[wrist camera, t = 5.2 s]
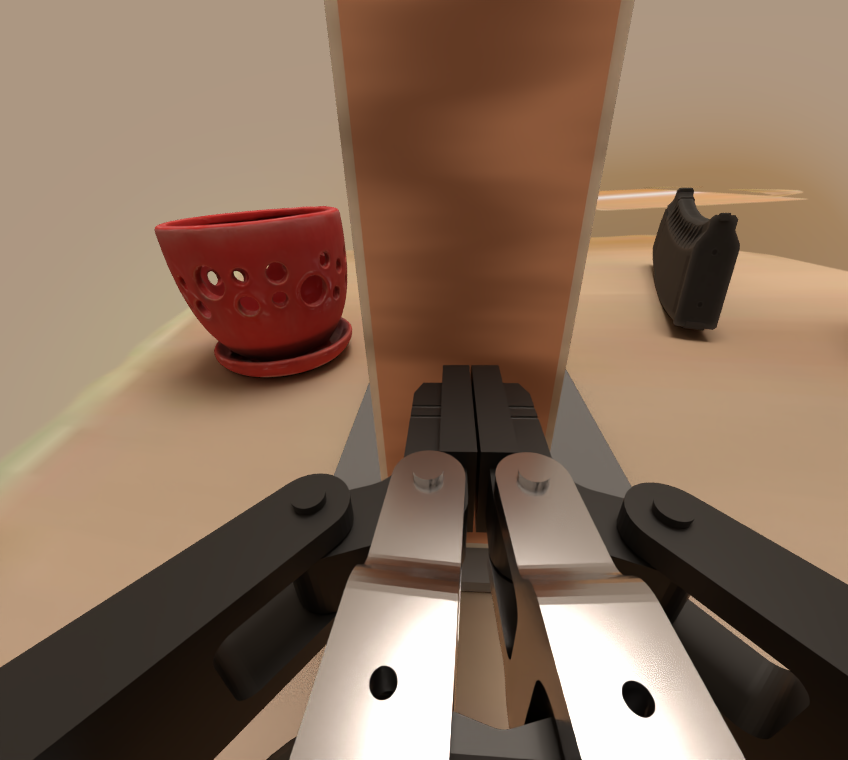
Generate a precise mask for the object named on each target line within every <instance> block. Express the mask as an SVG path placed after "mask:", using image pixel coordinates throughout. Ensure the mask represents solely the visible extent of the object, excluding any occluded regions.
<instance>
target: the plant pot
mask: <svg viewBox="0 0 848 760" xmlns="http://www.w3.org/2000/svg"><path fill="white" fill-rule="evenodd" d="M155 234H156V236H157V239H158V242H159V244H160V247H161V250H162V252H163V255H164V257H165V260H166V262H167V265H168V267H169V269H170V272H171V274H172V276H173V278H174V280H175V282H176V284H177V286H178V288H179V290H180V292H181V293H182V295H183V297H184V299H185V301H186V302H187V304H188V305H189V307H190V309H191V310H192V312H193V313H194V315H195V316H196V317H197V319H198V320H199V321H200V323H201V324H202V325H203V326H204V327H205V328H206V329H207V331H208V332H209V333H210V334H211V335H212V336H214V337H215V338H216V339H217V340H218V341H219V342H218V343H217V344H216V346H215V350H214V352H215V356H216V359H217V360H218V362H219V363H220V364H221V365H222V366H224V367H225V368H227V369H229V370H231V371H233V372H236V373H239V374H242V375H247V376H254V377H278V376H286V375H292V374H297V373H301V372H305V371H308V370H311V369H314V368H317V367H319V366H321V365H323V364H325V363H327V362H329V361H331V360H332V359H334V358H335V357H337V356H338V355H339V354H340V353H341V352H342V351H343V350H344V349H345V348H346V346H347V345H348V343H349V341H350V339H351V335H352V327H351V324H350V323H349V322H348V321H347V320H345V319H344V318H341V316H342V313H343V309H344V305H345V300H346V292H347V261H346V251H345V242H344V234H343V228H342V222H341V217H340V212H339V210H338V209H336V208H334V207H326V206H319V207H298V208H282V209H268V210H257V211H245V212H235V213H225V214H216V215H208V216H201V217H193V218H186V219H180V220H175V221H170V222H166V223H163V224H159V225H158V226H156V227H155ZM268 265H269V266H268ZM267 266H268V268H267ZM266 268H267V269H266ZM210 271H213V272H214V273H215V274H216V276H217V278H218V283H217V284H216V285H213V284H212V283H210V281H209V280H208V276H207V274H208V272H210ZM234 271H238V272H240V273H241V274H242V275H243V277H244V282H243V281H240V280H238V279H237V278H236V277H235V276H234Z"/></svg>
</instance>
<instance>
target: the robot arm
mask: <svg viewBox="0 0 848 760" xmlns="http://www.w3.org/2000/svg"><path fill="white" fill-rule="evenodd" d="M474 512H475V526H476V532H482V533H487V539H488V559H487V569H488V575H489V581H490V587H491V593H492V599H493V605H494V611H495V616H496V622H497V628H498V634H499V640H500V646H501V652H502V657H503V664H504V672H505V692H506V706H507V715H508V723H509V729H507V730H502V729H496V728H493V727H491V726H488V725H486V724H483V723H481V722H478V721H476V720H473V719H471V718H469V717H466V716H464V715H461V714H459V713H456V712H455V701H456V678H457V658H458V638H459V619H460V600H461V580H462V564H463V562H464V560H465V556H466V537H467V532H473V521H474ZM690 595H691V596H692V597H694V598H695V599H696V600H698V601H699V602H700V603H702V604H703V605H704V606H706V607H707V608H708V609H710V610H711V611H712V612H714V613H715V614H716V615H718V616H719V617H720V618H721V619H723V620H724V621H725V622H727V623H728V624H729V625H731V626H732V627H733V628H735V629H736V630H737V631H739V632H740V633H741V634H743V635H744V636H745V637H747V638H748V639H749V640H751V641H752V642H753V643H755V644H756V645H757V646H759V647H760V648H761V649H763V650H764V651H765V652H766V653H768V654H769V655H770V656H772V657H773V658H774V659H776V660H777V661H778V662H780V663H781V664H782V665H784V666H785V667H786V668H787V669H789V670H790V671H789V670H786V669H783V668H781V667H779V666H777V665H775V664H773V663H771V662H770V661H768V660H767V659H766V658H764V657H763V656H762V655H760V654H759V653H758V652H756V651H755V650H754V649H753V648H751V647H750V646H749V645H747V644H746V643H745V642H743V641H742V640H741V639H739V638H738V637H737V636H736V635H734V634H733V633H732V632H730V631H729V630H728V629H726V628H725V627H724V626H723V625H721V624H720V623H719V622H717V621H716V620H715V619H713V618H712V617H711V616H709V615H708V614H707V613H706V612H704V611H703V610H702V609H700V608H699V607H698V606H696V605H695V604H694V603H693V602H691V601H690V600H689V599H688V598H689V597H690ZM326 644H327V645H326ZM325 645H326V648H325V651H324V654H323V657H322V661H321V664H320V667H319V670H318V673H317V676H316V679H315V682H314V685H313V688H312V691H311V694H310V697H309V701H308V704H307V707H306V710H305V713H304V716H303V719H302V722H301V725H300V728H299V731H298V734H297V737H295V738H293V739H292V740H290V741H289V742H288V743H286V744H285V745H284V746H282V747H281V748H280V749H279V750H277V751H276V752H275V753H273V754H272V755H271V756H270V757H269V758H268V759H267V760H848V585H847V584H846V583H844V582H842V581H840V580H839V579H837V578H835V577H834V576H832V575H830V574H828V573H827V572H825V571H823V570H821V569H820V568H818V567H816V566H814V565H813V564H811V563H809V562H807V561H806V560H804V559H802V558H800V557H799V556H797V555H795V554H793V553H792V552H790V551H788V550H787V549H785V548H783V547H781V546H780V545H778V544H776V543H774V542H773V541H771V540H769V539H767V538H766V537H764V536H762V535H760V534H759V533H757V532H755V531H753V530H752V529H750V528H748V527H746V526H745V525H743V524H741V523H740V522H738V521H736V520H734V519H733V518H731V517H729V516H727V515H726V514H724V513H722V512H720V511H719V510H717V509H715V508H713V507H712V506H710V505H708V504H706V503H705V502H703V501H701V500H699V499H698V498H696V497H694V496H693V495H691V494H689V493H687V492H685V491H683V490H680V489H678V488H675V487H672V486H669V485H665V484H660V483H641V484H638V485H635V486H633V487H631V488H630V489H629V490H628V491H627V492H626V494H625V497H624V498H621V497H617V496H613V495H609V494H606V493H602V492H598V491H594V490H591V489H588V488H585V487H583V486H581V485H579V484H577V483H575V482H574V481H573V479H572V477H571V475H570V474H569V472H568V471H567V470H566V469H565V467H563V466H562V465H561V464H560V463H558V462H557V461H555V460H554V459H552V456H551V453H550V450H549V448H548V445H547V442H546V439H545V436H544V433H543V430H542V427H541V424H540V422H539V419H538V416H537V413H536V410H535V408H534V404H533V401H532V398H531V395H530V393H529V392H528V391H526V390H525V389H524V388H523V387H522V386H521V385H520V384H519V383H503V382H502V377H501V373H500V369H499V366H498V365H471V373H470V367H469V365H443V373H442V383H423V384H422V385H421V386H420V387H419V388H418V389H417V390H416V391H415V392H414V396H413V403H412V409H411V418H410V421H409V428H408V434H407V440H406V447H405V453H404V458H403V459H401V460H400V461H399V462H398V463H397V465H396V466H395V468H394V470H393V472H392V475H391V476H389V477H388V478H386V479H385V480H383V481H380V482H378V483H375V484H372V485H368V486H364V487H360V488H355V489H351V490H349V489H348V486H347V485H346V483H345V482H344V481H343V480H341V479H340V478H338V477H336V476H333V475H329V474H312V475H307V476H304V477H301V478H298V479H296V480H294V481H292V482H290V483H289V484H287V485H285V486H284V487H282V488H281V489H279V490H278V491H276V492H275V493H273V494H271V495H270V496H268V497H267V498H265V499H264V500H262V501H260V502H259V503H257V504H256V505H254V506H253V507H251V508H249V509H248V510H246V511H245V512H243V513H242V514H240V515H238V516H237V517H235V518H234V519H232V520H231V521H229V522H227V523H226V524H224V525H223V526H221V527H220V528H218V529H217V530H215V531H213V532H212V533H210V534H209V535H207V536H206V537H204V538H202V539H201V540H199V541H198V542H196V543H195V544H193V545H191V546H190V547H188V548H187V549H185V550H184V551H182V552H180V553H179V554H177V555H176V556H174V557H173V558H171V559H169V560H168V561H166V562H165V563H163V564H162V565H160V566H159V567H157V568H155V569H154V570H152V571H151V572H149V573H148V574H146V575H144V576H143V577H141V578H140V579H138V580H137V581H135V582H133V583H132V584H130V585H129V586H127V587H126V588H124V589H122V590H121V591H119V592H118V593H116V594H115V595H113V596H111V597H110V598H108V599H107V600H105V601H104V602H102V603H101V604H99V605H97V606H96V607H94V608H93V609H91V610H90V611H88V612H86V613H85V614H83V615H82V616H80V617H79V618H77V619H75V620H74V621H72V622H71V623H69V624H68V625H66V626H64V627H63V628H61V629H60V630H58V631H57V632H55V633H54V634H52V635H50V636H49V637H47V638H46V639H44V640H43V641H41V642H39V643H38V644H36V645H35V646H33V647H32V648H30V649H28V650H27V651H25V652H24V653H22V654H21V655H19V656H17V657H16V658H14V659H13V660H11V661H10V662H8V663H6V664H5V665H3V666H2V667H0V760H213V759H214V758H215V757H216V756H217V755H218V754H219V753H220V752H221V751H222V750H223V749H224V748H225V747H226V746H227V745H228V744H229V743H230V742H231V741H232V740H233V739H234V738H235V737H236V736H237V735H238V734H239V733H240V732H241V731H242V730H243V729H244V728H245V727H246V726H247V725H248V724H249V723H250V722H251V721H252V720H253V719H254V718H255V716H256V715H257V714H258V713H259V712H260V711H261V710H262V709H263V708H264V707H265V706H266V705H267V704H268V703H269V702H270V701H271V700H272V699H273V698H274V697H275V696H276V695H277V694H278V693H279V692H280V691H281V690H282V689H283V688H284V687H285V686H286V685H287V684H288V683H289V682H290V681H291V680H292V679H293V678H294V677H295V676H296V675H297V674H298V673H299V672H300V671H301V670H302V669H303V667H304V666H305V665H306V664H307V663H308V662H309V661H310V660H311V659H312V658H313V657H314V656H315V655H316V654H317V653H318V652H319V651H320V650H321V649H322V648H323V647H324V646H325Z"/></svg>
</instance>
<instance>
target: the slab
mask: <svg viewBox="0 0 848 760" xmlns="http://www.w3.org/2000/svg"><path fill="white" fill-rule="evenodd" d="M634 1H635V0H324V5H325V13H326V21H327V30H328V38H329V47H330V55H331V63H332V71H333V79H334V88H335V97H336V105H337V114H338V122H339V130H340V138H341V147H342V156H343V163H344V172H345V181H346V188H347V198H348V206H349V213H350V223H351V231H352V240H353V248H354V256H355V265H356V273H357V282H358V290H359V298H360V307H361V315H362V324H363V332H364V340H365V349H366V357H367V366H368V374H369V382H370V391H371V399H372V408H373V416H374V424H375V433H376V441H377V449H378V458H379V466H380V475H381V481H383V480H385V479H386V478H388V477H389V476H391V475H392V472H393V470H394V468H395V466H396V465H397V463H398V462H399V461H400V460H401V459H403V458H404V453H405V447H406V440H407V434H408V428H409V421H410V418H411V409H412V403H413V396H414V392H415V391H416V390H417V389H418V388H419V387H420V386H421V385H422V384H423V383H442V373H443V365H469V367H470V373H471V365H498V366H499V369H500V373H501V377H502V382H503V383H519V384H520V385H521V386H522V387H523V388H524V389H525V390H526V391H528V392H529V393H530V395H531V398H532V401H533V404H534V408H535V410H536V413H537V416H538V419H539V422H540V424H541V427H542V430H543V433H544V436H545V439H546V442H547V445H548V448H549V450H551V445H552V439H553V434H554V429H555V423H556V418H557V412H558V407H559V402H560V396H561V391H562V386H563V380H564V375H565V370H566V364H567V359H568V354H569V348H570V343H571V338H572V332H573V327H574V322H575V316H576V311H577V306H578V300H579V295H580V290H581V284H582V279H583V274H584V268H585V263H586V258H587V252H588V247H589V242H590V236H591V231H592V226H593V220H594V215H595V210H596V204H597V199H598V194H599V188H600V183H601V177H602V172H603V167H604V161H605V156H606V150H607V145H608V140H609V135H610V129H611V124H612V119H613V113H614V108H615V103H616V97H617V92H618V87H619V81H620V76H621V71H622V65H623V60H624V55H625V49H626V44H627V39H628V33H629V28H630V22H631V17H632V12H633V6H634ZM466 547H470V548H488V539H487V533H482V532H476V526H475V512H474V521H473V532H467V537H466Z"/></svg>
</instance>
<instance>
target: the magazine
mask: <svg viewBox="0 0 848 760" xmlns="http://www.w3.org/2000/svg"><path fill="white" fill-rule="evenodd" d="M693 193H694V190H693V188H679V189H678V190H677V193H676V196H675V198H674V200H673V201H672V202H671V203H670V204H669V205H668V208H667V209H666V210H665V212H664V215H663V218H662V220H661V223H660V226H659V229H658V232H657V236H656V239H655V242H654V245H653V268H654V280H655V286H656V290H657V294H658V297H659V299H660V302H661V304H662V305H663V307H664V309H665V310H666V312H667V313H668V314H669V316H670V317H671V318H672V319H673V324H674V325H676V326H683V328H687V329H696V330H704V329H712V330H713V329H715V328H716V327H717V323H718V320H719V317H720V313H721V310H722V307H723V303H724V300H725V296H726V293H727V290H728V286H729V283H730V280H731V276H732V273H733V269H734V266H735V263H736V259H737V256H738V253H739V249H740V243H739V240H738V237H737V234H736V231H735V229H736V225H737V222H738V219H737V217H736V216H735V215H731V213H720V214H719V215H715V216H713V217H712V218H711V219H707V218H705V217H703V216H702V215H701V214H700V213H699V211H698V210H697V208H696V205H695V202H694V201H695V199H694V197H693Z"/></svg>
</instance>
